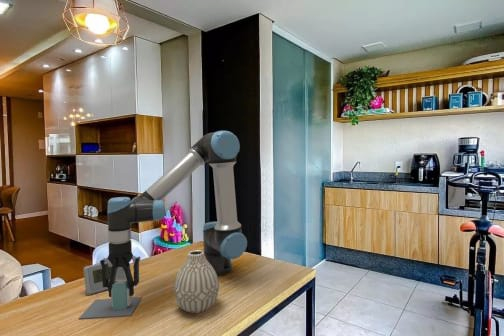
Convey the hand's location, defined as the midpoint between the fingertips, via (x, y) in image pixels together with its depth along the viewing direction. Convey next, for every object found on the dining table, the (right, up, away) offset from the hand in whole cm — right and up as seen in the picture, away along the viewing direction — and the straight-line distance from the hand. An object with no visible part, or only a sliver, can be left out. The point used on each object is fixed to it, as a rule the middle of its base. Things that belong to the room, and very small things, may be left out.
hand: (121, 304), depth 107 cm
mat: (-3, -1, 0) cm, 4 cm away
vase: (+27, -1, 0) cm, 27 cm away
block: (0, -1, 0) cm, 1 cm away
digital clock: (-13, -1, +16) cm, 21 cm away
